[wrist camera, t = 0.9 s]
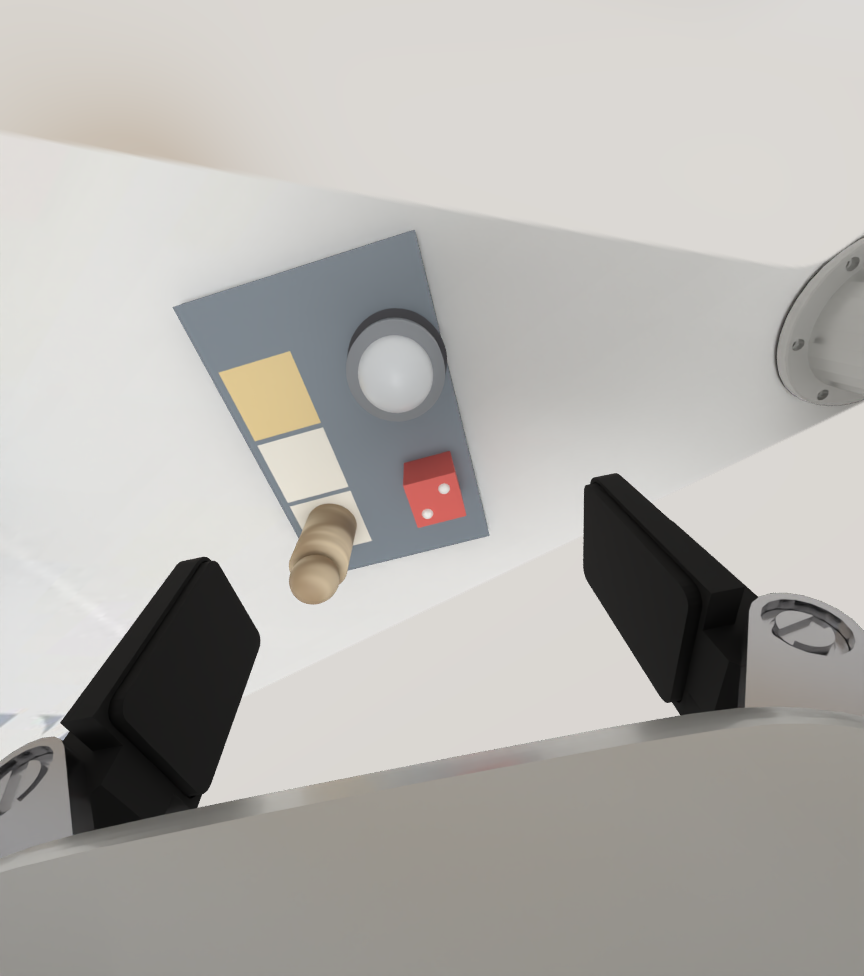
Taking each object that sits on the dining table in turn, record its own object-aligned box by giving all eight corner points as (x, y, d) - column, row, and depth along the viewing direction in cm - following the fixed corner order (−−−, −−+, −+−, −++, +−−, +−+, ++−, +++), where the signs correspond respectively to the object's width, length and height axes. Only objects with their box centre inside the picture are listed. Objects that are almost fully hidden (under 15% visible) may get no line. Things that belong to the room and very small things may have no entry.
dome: (429, 304, 25) (432, 311, 21) (452, 398, 29) (459, 420, 24) (336, 332, 26) (322, 344, 22) (368, 421, 29) (361, 446, 25)
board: (415, 230, 26) (417, 221, 21) (488, 528, 38) (499, 566, 33) (181, 305, 28) (132, 313, 23) (322, 569, 39) (310, 611, 35)
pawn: (346, 498, 34) (326, 566, 26) (363, 537, 36) (350, 611, 28) (299, 510, 35) (265, 581, 27) (319, 548, 37) (293, 624, 29)
